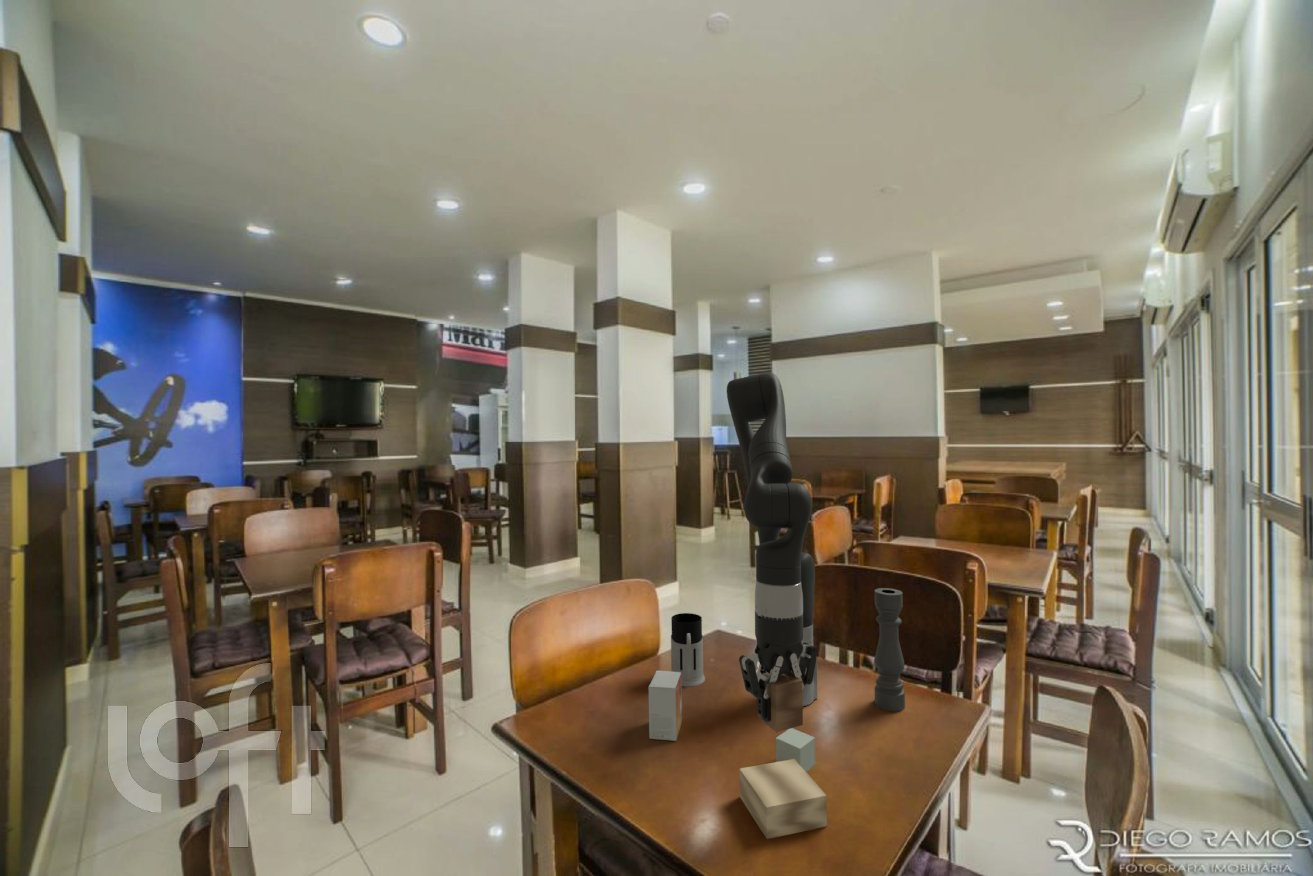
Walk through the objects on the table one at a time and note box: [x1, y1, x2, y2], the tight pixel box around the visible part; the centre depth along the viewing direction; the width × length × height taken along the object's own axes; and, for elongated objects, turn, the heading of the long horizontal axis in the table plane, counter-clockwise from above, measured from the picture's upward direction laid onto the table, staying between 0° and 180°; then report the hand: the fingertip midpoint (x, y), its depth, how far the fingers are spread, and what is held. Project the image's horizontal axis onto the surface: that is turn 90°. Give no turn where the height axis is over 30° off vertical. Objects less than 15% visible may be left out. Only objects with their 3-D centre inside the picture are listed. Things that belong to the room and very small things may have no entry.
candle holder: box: [873, 587, 906, 712], centre depth 123 cm, size 6×6×25 cm
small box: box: [648, 670, 683, 742], centre depth 113 cm, size 8×6×10 cm
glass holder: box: [670, 612, 706, 687], centre depth 134 cm, size 9×14×15 cm, turn 1°
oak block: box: [739, 759, 828, 840], centre depth 88 cm, size 10×10×5 cm
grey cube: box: [775, 728, 816, 773], centre depth 101 cm, size 5×5×5 cm
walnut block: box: [757, 672, 804, 733], centre depth 88 cm, size 5×5×7 cm
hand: (779, 715), depth 88 cm, fingers closed on walnut block, 5 cm apart
